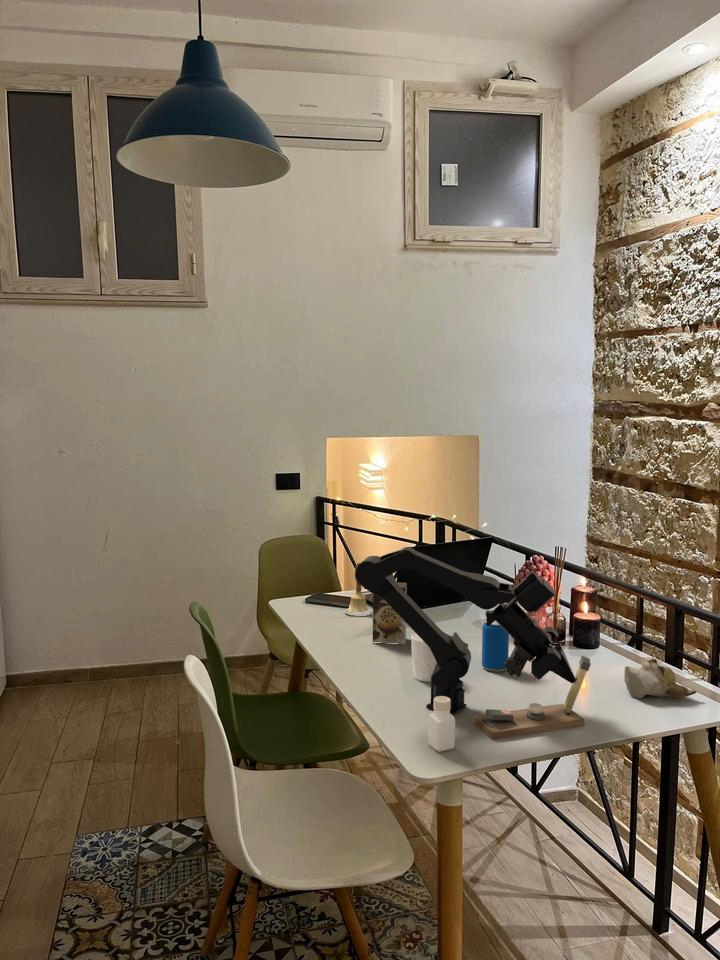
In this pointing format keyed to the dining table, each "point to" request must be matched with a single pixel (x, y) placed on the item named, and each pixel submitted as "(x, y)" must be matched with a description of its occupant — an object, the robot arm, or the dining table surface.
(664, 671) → the ceramic sculpture
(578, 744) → the dining table surface
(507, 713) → the rocker switch
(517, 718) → the switch panel
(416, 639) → the white cup
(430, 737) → the white pill bottle
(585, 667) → the tan capped bar
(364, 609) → the hand bell
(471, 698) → the dining table surface
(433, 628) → the robot arm
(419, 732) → the dining table surface
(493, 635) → the beverage can
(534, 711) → the push button
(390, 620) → the coffee box
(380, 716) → the dining table surface
